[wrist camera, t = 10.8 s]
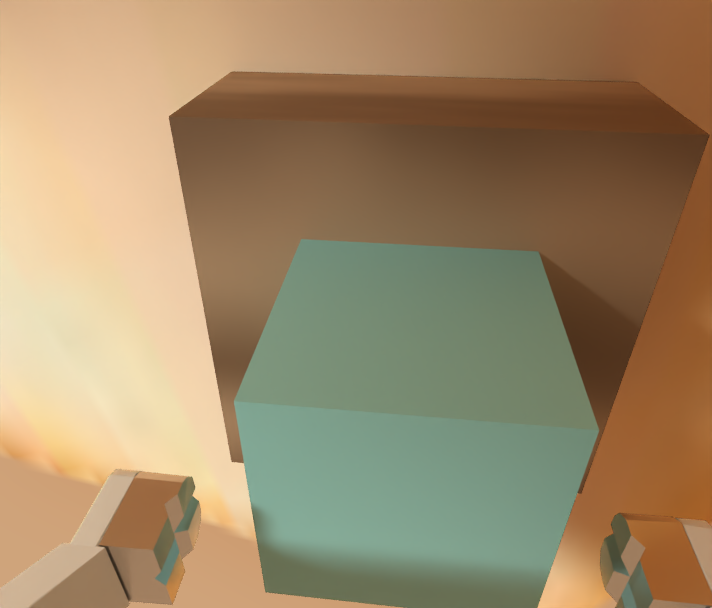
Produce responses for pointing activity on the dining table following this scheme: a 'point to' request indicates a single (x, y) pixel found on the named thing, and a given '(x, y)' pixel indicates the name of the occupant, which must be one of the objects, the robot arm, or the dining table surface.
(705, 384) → the dining table surface
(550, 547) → the teal cube
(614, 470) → the dining table surface
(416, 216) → the walnut base
